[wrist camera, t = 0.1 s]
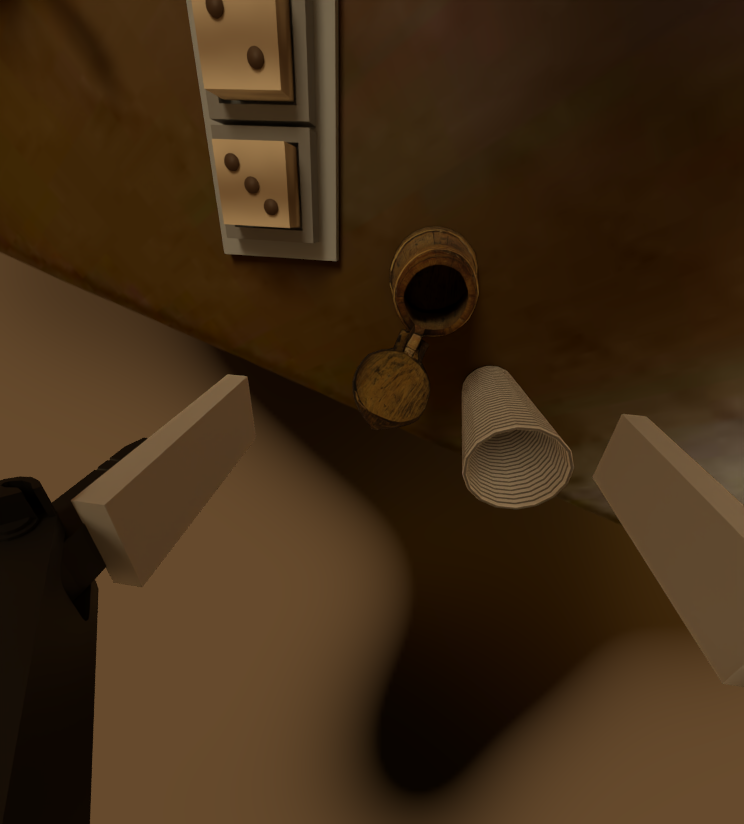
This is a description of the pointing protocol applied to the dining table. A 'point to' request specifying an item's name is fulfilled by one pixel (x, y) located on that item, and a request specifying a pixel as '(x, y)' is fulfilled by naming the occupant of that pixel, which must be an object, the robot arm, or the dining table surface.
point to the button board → (290, 137)
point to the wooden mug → (417, 323)
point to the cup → (509, 444)
